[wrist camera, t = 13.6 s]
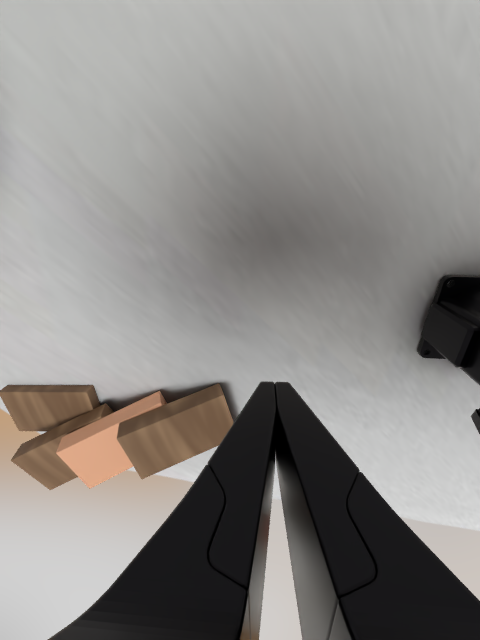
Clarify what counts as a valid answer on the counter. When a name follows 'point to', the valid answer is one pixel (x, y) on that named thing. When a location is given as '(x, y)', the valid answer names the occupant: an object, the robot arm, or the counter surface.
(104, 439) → the domino
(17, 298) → the counter surface
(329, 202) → the counter surface
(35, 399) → the domino
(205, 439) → the domino
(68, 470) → the domino
